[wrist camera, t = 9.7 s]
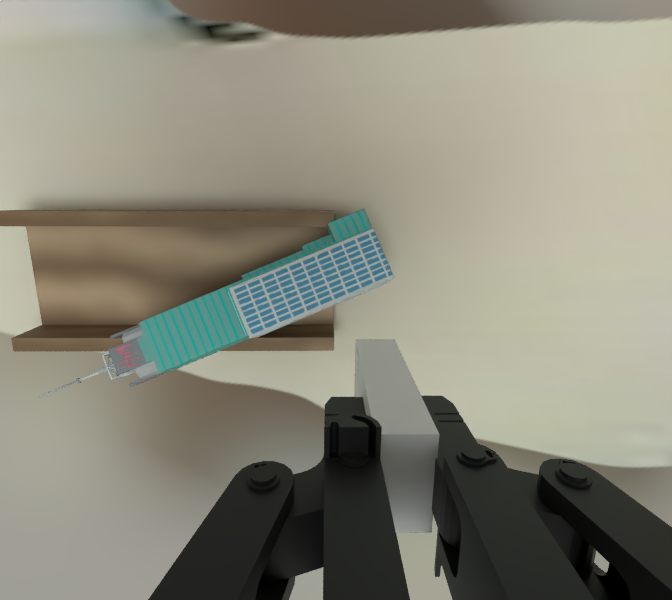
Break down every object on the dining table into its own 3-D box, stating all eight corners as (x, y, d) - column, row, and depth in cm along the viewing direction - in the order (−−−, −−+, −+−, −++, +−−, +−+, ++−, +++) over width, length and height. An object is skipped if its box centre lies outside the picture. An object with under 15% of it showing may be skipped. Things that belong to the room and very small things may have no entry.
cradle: (34, 209, 39) (-13, 211, 33) (333, 211, 39) (334, 212, 34) (54, 332, 41) (13, 351, 36) (333, 331, 42) (333, 350, 36)
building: (383, 285, 38) (76, 414, 37) (357, 226, 39) (52, 352, 37) (394, 277, 32) (28, 432, 31) (364, 207, 33) (-1, 357, 31)
